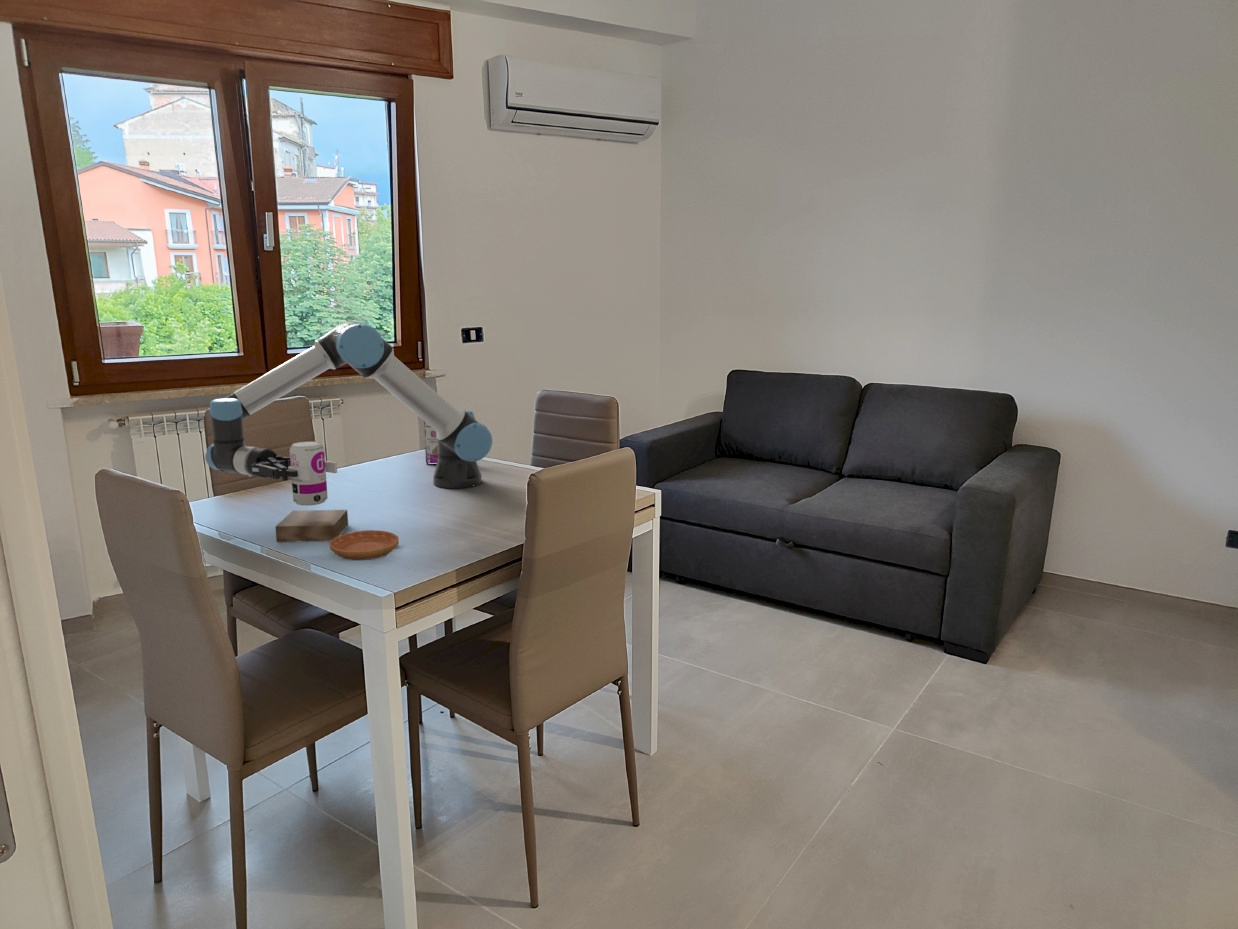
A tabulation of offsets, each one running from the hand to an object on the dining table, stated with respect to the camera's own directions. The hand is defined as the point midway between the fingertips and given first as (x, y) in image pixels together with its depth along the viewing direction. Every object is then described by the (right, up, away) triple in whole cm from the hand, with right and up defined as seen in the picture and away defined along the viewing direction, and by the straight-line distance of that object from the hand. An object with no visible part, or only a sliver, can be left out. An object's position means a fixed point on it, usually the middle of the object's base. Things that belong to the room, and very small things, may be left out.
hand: (322, 471), depth 204 cm
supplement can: (-4, -8, +4) cm, 10 cm away
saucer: (+13, -20, -7) cm, 24 cm away
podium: (-4, -16, +6) cm, 17 cm away
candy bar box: (+12, +2, +84) cm, 85 cm away
